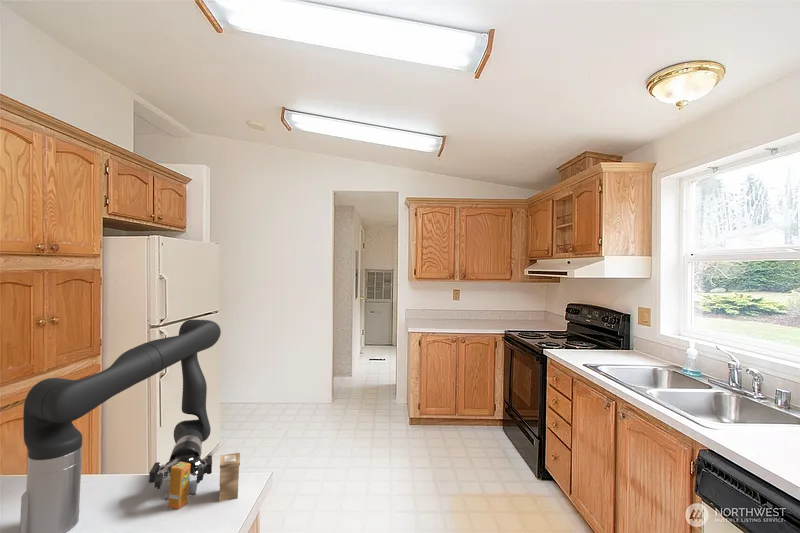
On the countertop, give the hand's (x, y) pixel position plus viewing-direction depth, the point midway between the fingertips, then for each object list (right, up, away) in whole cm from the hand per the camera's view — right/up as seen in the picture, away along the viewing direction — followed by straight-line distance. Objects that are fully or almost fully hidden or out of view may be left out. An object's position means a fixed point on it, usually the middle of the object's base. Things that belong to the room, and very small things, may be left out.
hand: (178, 482), depth 96 cm
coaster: (-4, -7, +8) cm, 11 cm away
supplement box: (-1, -7, +2) cm, 7 cm away
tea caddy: (+9, -7, +7) cm, 14 cm away
